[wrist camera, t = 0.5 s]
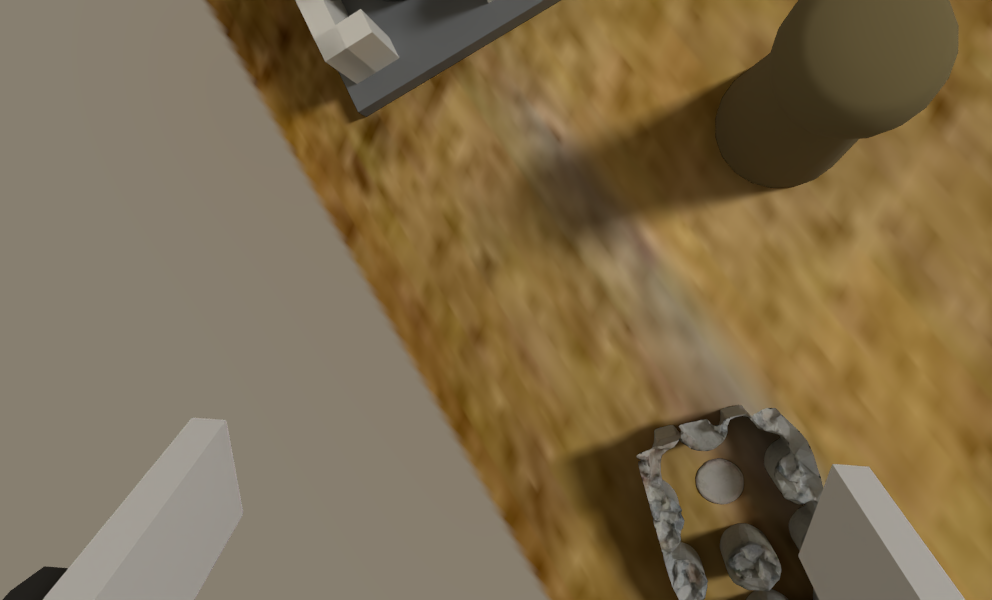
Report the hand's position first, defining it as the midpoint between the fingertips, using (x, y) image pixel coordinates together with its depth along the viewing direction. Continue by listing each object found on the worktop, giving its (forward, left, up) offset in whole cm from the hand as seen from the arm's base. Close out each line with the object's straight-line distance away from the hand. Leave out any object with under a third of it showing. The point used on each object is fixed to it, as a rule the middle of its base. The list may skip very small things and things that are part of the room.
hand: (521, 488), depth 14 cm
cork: (+6, -14, -18) cm, 24 cm away
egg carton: (-10, -4, -18) cm, 21 cm away
